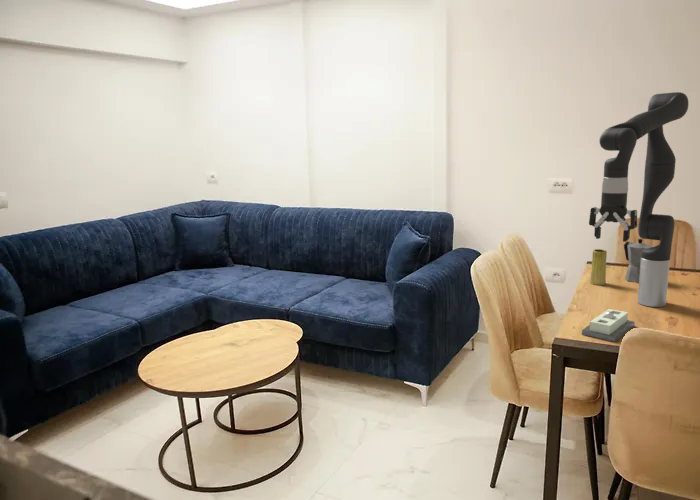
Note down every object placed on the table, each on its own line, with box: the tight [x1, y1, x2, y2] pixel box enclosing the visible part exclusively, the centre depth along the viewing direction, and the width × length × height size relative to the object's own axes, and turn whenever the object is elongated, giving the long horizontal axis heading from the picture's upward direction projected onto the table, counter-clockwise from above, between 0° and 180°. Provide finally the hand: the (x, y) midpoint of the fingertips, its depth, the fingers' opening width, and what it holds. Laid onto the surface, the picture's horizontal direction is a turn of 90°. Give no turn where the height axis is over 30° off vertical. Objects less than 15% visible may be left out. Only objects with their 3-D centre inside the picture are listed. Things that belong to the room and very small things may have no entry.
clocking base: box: [581, 310, 636, 343], centre depth 172 cm, size 18×10×6 cm, turn 135°
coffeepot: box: [623, 238, 653, 284], centre depth 226 cm, size 15×9×18 cm, turn 13°
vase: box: [589, 248, 608, 286], centre depth 223 cm, size 6×6×14 cm
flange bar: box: [589, 308, 629, 335], centre depth 172 cm, size 16×6×3 cm, turn 135°
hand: (611, 239), depth 176 cm, fingers open, 8 cm apart
